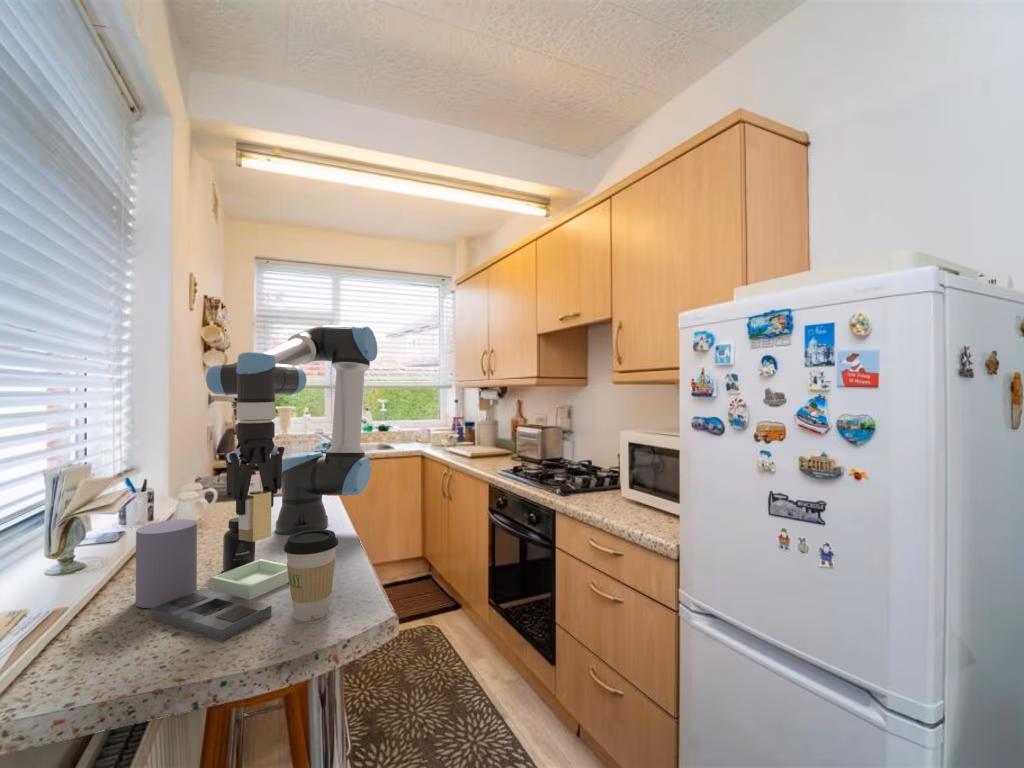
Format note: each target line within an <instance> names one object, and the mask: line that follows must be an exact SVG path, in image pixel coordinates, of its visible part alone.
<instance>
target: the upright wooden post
mask: <svg viewBox="0 0 1024 768" xmlns="http://www.w3.org/2000/svg"><path fill="white" fill-rule="evenodd" d="M247 499H251V500H250V530H243V529H239V540H244V541H250V542H255V543H256V542H258V541H260V540H263V539H267V538H270V537H271V536H272V507H271V492H269V491H263V490H261V489H257V490H256V489H255V490H252V491H248V496H247Z"/></svg>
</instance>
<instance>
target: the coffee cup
mask: <svg viewBox="0 0 1024 768" xmlns="http://www.w3.org/2000/svg"><path fill="white" fill-rule="evenodd" d="M286 540H287V541H286V543H285V545H284V546H283V551H284V552H285V553H286V559H287V563H286V564H287V569H288V578H289V582H288V583H289V584H288V585H289V592H290V593H289V594H290V599H291V601H292V603H291V604H292V611H293V618H294V619H295V620H297V621H300V622H311V621H316V620H319V619H322V618H323V617H324V615H325V616H326V615H327V614H328V613H329V610H330V609H329V608H330V600H331V595H332V590H333V582H334V576H335V573H334V572H335V568H336V567H335V566H336V565H335V564H336V551H337V546H338V545H339V540H338V537H337V536H336V533H335V531H333V530H330V529H320V530H308V531H303V532H299V533H295V534H290V536H288V537H287V539H286ZM318 618H319V619H318ZM315 619H316V620H315Z"/></svg>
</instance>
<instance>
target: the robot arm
mask: <svg viewBox="0 0 1024 768" xmlns="http://www.w3.org/2000/svg"><path fill="white" fill-rule="evenodd" d="M377 356H378V342H377V339H376V336H375V334H374V331H373V330H372V328H370V326H368V325H365V324H355V323H354V324H340V325H338V324H337V325H336V324H335V325H334V324H333V325H326V324H325V325H319V326H315V327H312V328H308V329H306V330H303V331H301V332H298V333H296V334H293V335H291V336H290V337H289V338H288V339H287V341H285V342H283V343H280V344H278V345H276V346H272V347H271V348H268V349H265V350H264V351H261V352H259V351H256V352H253V351H252V352H251V351H246V352H241V353H240V354H239V355H238V356H237V361H236V362H233V363H231V364H230V363H229V364H226V363H222V364H216V365H215V364H214V365H212V366H211V367H209V369H208V370H207V372H206V374H205V382H206V386H207V389H208V390H209V391H210V392H211V393H213V394H215V395H224V396H234V395H235V396H236V395H237V398H236V420H237V421H239V422H238V423H237V424H236V439H237V441H238V442H237V445H236V447H235V449H234V450H232V451H230V452H225V453H224V454H223V458H224V462H225V463H226V498H227V499H232V500H235V513H236V516H238V517H239V529H243V530H250V500H251V499H247V496H248V492H250V485H251V480H252V476H253V471H254V469H255V468H256V466H257V468H258V472H259V477H260V481H261V485H262V491H269V492H271V508H273V507H274V497H275V496H274V495H276V494H277V493H278V490H281V507H280V510H279V513H278V517H277V520H276V522H275V532H276V533H278V534H281V535H293V534H295V533H299V532H303V531H308V530H320V529H322V530H324V529H325V528H327V527H328V526H329V516H328V515H327V512H326V509H325V505H324V503H323V496H343V497H348V496H359V495H361V494H362V493H363V492H364V491H365V490H366V488H367V487H368V484H369V482H370V479H371V474H372V464H371V463H372V462H371V460H370V459H369V457H366V455H365V454H366V452H365V449H363V448H362V447H361V440H362V439H361V437H362V420H363V419H362V418H363V403H364V388H365V386H364V385H365V372H366V371H367V370H368V369H370V366H371V362H373V361H375V360H376V359H377ZM311 362H331V366H332V367H333V368H334V369H335V383H334V384H335V386H334V400H333V404H334V405H333V417H332V420H333V421H332V431H331V432H332V433H331V446H330V447H329V448H328V449H327V450H325V456H324V454H323V452H321V451H314V452H307V453H306V452H305V453H302V454H301V453H300V454H294V455H290V456H287V457H285V458H284V459H283V456H284V452H285V447H284V446H277V445H275V443H274V441H273V439H274V438H275V434H276V432H275V431H276V428H275V427H276V426H275V425H276V424H275V421H273V420H275V419H276V416H275V415H276V402H275V400H276V399H275V398H276V397H275V396H278V395H279V396H281V395H283V396H292V395H297V394H299V393H301V392H302V391H303V390H304V389H305V387H306V385H307V374H306V372H305V371H304V369H302V368H301V367H299V366H298V365H307V364H310V363H311Z"/></svg>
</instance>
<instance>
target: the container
mask: <svg viewBox="0 0 1024 768" xmlns="http://www.w3.org/2000/svg"><path fill="white" fill-rule="evenodd" d="M135 538H136V539H135V606H137V607H139V608H141V609H148V610H149V609H150V610H151V608H154V607H156V606H159V605H161V604H164V603H166V602H169V601H172V600H174V599H177V598H179V597H182V596H184V595H187V594H189V593H192V592H195V591H197V589H198V588H197V587H198V584H197V583H198V580H197V579H198V575H197V573H198V568H197V567H198V521H197V520H195V519H186V518H185V519H184V518H183V519H181V518H180V519H172V520H171V519H169V520H162V521H157V522H153V523H152V522H151V523H149V524H146V525H143V526H140V527H138V528H137V529H136V530H135Z"/></svg>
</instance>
